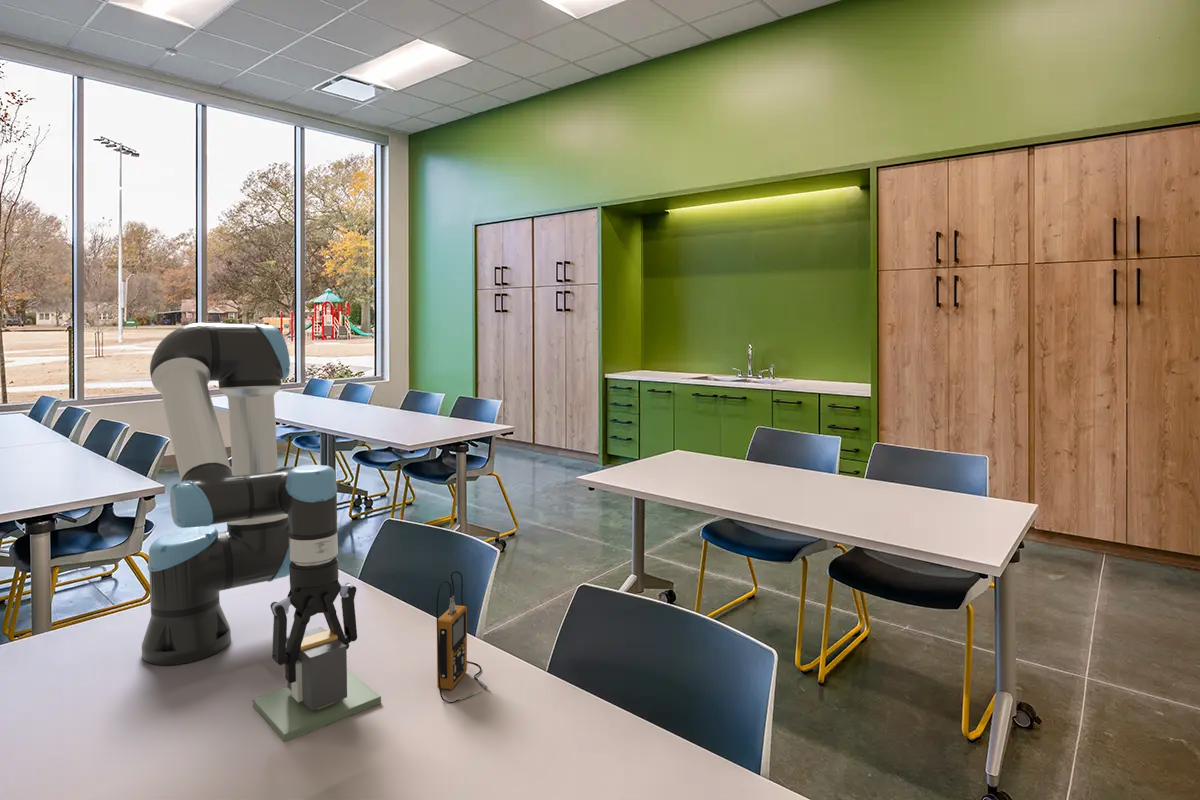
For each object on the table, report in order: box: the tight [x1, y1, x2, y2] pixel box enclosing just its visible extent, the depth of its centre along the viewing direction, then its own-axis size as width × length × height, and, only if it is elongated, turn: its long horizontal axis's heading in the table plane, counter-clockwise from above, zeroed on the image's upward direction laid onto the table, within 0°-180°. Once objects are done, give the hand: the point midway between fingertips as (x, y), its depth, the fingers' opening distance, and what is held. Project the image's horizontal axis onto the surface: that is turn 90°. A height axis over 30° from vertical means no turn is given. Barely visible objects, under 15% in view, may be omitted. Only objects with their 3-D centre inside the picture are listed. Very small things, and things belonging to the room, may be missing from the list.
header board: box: [252, 668, 382, 742], centre depth 115 cm, size 14×16×5 cm
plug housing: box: [286, 626, 348, 711], centre depth 114 cm, size 10×6×10 cm, turn 45°
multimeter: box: [436, 571, 492, 704], centre depth 122 cm, size 15×10×20 cm
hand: (317, 690), depth 115 cm, fingers closed on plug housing, 6 cm apart
